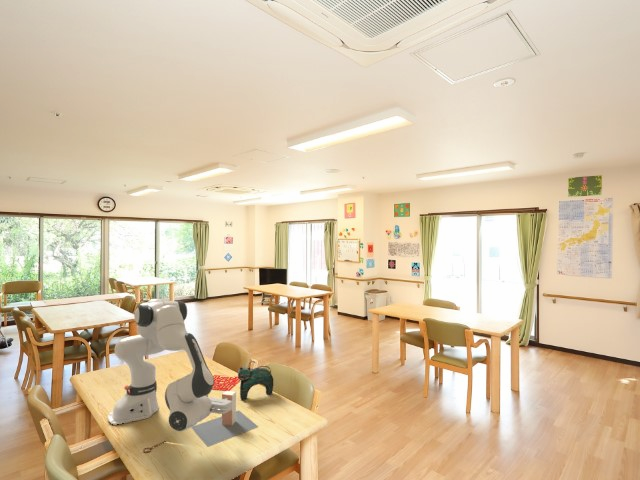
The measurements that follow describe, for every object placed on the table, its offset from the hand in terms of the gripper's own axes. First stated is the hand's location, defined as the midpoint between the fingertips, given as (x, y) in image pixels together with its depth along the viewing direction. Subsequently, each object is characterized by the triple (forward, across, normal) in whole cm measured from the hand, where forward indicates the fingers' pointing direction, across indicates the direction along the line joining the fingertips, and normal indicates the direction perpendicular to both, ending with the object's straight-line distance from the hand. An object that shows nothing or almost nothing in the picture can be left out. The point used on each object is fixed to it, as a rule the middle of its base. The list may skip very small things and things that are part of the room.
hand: (216, 398), depth 150 cm
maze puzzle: (+56, +24, +10) cm, 62 cm away
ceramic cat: (+42, -4, +10) cm, 44 cm away
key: (-6, +20, +20) cm, 29 cm away
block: (+13, -2, +14) cm, 19 cm away
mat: (+9, -2, +15) cm, 18 cm away
